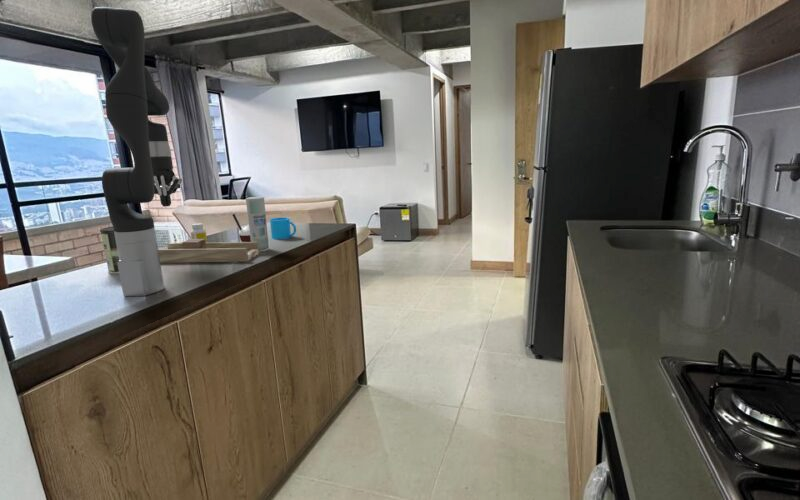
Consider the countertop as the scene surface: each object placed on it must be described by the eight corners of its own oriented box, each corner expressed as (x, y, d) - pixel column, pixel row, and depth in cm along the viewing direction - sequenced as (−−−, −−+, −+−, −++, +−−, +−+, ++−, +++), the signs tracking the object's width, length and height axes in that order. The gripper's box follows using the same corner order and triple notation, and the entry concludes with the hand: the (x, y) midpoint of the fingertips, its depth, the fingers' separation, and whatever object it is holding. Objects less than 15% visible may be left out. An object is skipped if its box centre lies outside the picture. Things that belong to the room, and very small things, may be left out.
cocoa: (261, 242, 177) (259, 214, 175) (250, 245, 171) (249, 215, 169) (242, 240, 180) (241, 212, 178) (232, 242, 175) (230, 214, 172)
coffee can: (152, 265, 142) (145, 224, 139) (127, 274, 133) (119, 230, 129) (126, 265, 145) (119, 224, 141) (100, 273, 135) (91, 230, 131)
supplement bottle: (210, 246, 170) (207, 222, 167) (203, 250, 164) (199, 225, 162) (197, 246, 170) (194, 223, 168) (190, 250, 165) (186, 225, 163)
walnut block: (199, 254, 148) (197, 242, 147) (184, 254, 148) (182, 242, 147) (207, 250, 153) (205, 238, 152) (192, 251, 154) (190, 239, 153)
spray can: (255, 252, 157) (249, 199, 152) (249, 250, 162) (243, 197, 157) (272, 250, 161) (266, 197, 156) (265, 247, 166) (260, 196, 161)
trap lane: (247, 261, 145) (245, 248, 144) (152, 262, 147) (149, 250, 146) (259, 253, 155) (258, 241, 154) (170, 255, 157) (168, 243, 156)
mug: (267, 238, 182) (265, 220, 180) (279, 235, 190) (277, 217, 188) (291, 240, 178) (289, 221, 176) (302, 236, 186) (300, 218, 184)
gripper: (132, 156, 140) (141, 208, 144) (171, 155, 139) (178, 207, 143) (147, 155, 147) (155, 205, 151) (183, 154, 147) (190, 204, 151)
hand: (166, 206), depth 147 cm, fingers closed
